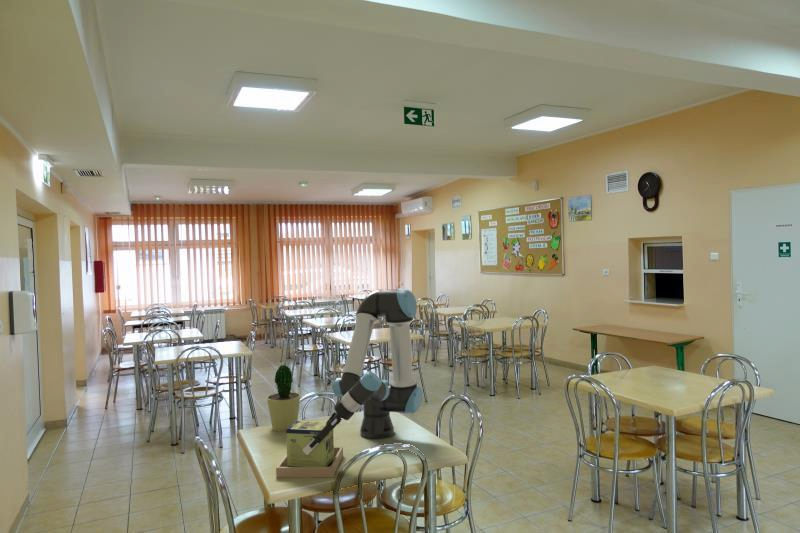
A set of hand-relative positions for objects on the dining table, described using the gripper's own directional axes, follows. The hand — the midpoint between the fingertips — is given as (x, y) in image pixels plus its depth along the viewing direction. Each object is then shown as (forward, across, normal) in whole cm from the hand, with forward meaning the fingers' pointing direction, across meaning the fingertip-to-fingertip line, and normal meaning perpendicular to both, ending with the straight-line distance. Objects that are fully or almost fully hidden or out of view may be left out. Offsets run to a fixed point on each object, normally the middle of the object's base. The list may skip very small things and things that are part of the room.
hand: (308, 446), depth 207 cm
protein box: (+5, 0, -6) cm, 8 cm away
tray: (+5, 0, -6) cm, 7 cm away
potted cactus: (+22, +48, +11) cm, 54 cm away
